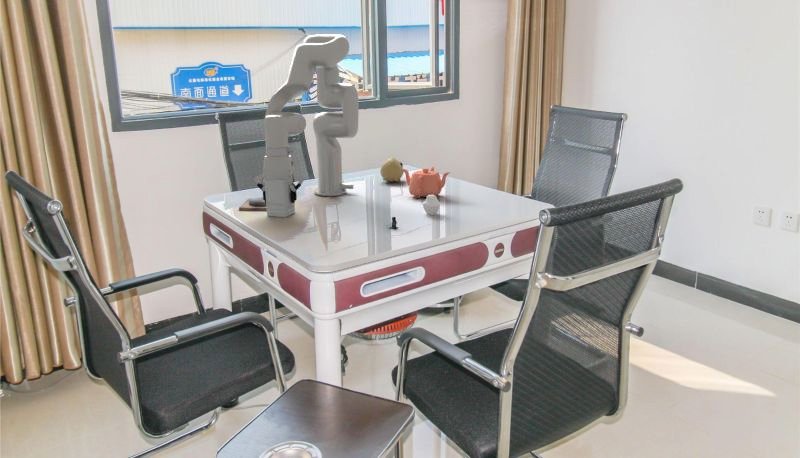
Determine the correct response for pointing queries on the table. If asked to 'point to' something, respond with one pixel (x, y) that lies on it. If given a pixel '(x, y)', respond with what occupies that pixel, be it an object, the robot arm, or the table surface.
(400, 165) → the pale yellow rounded lump
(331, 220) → the table surface
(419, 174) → the teapot
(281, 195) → the supplement box
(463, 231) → the table surface
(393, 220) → the sculpture
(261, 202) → the brown square board
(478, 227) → the table surface
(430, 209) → the muffin
